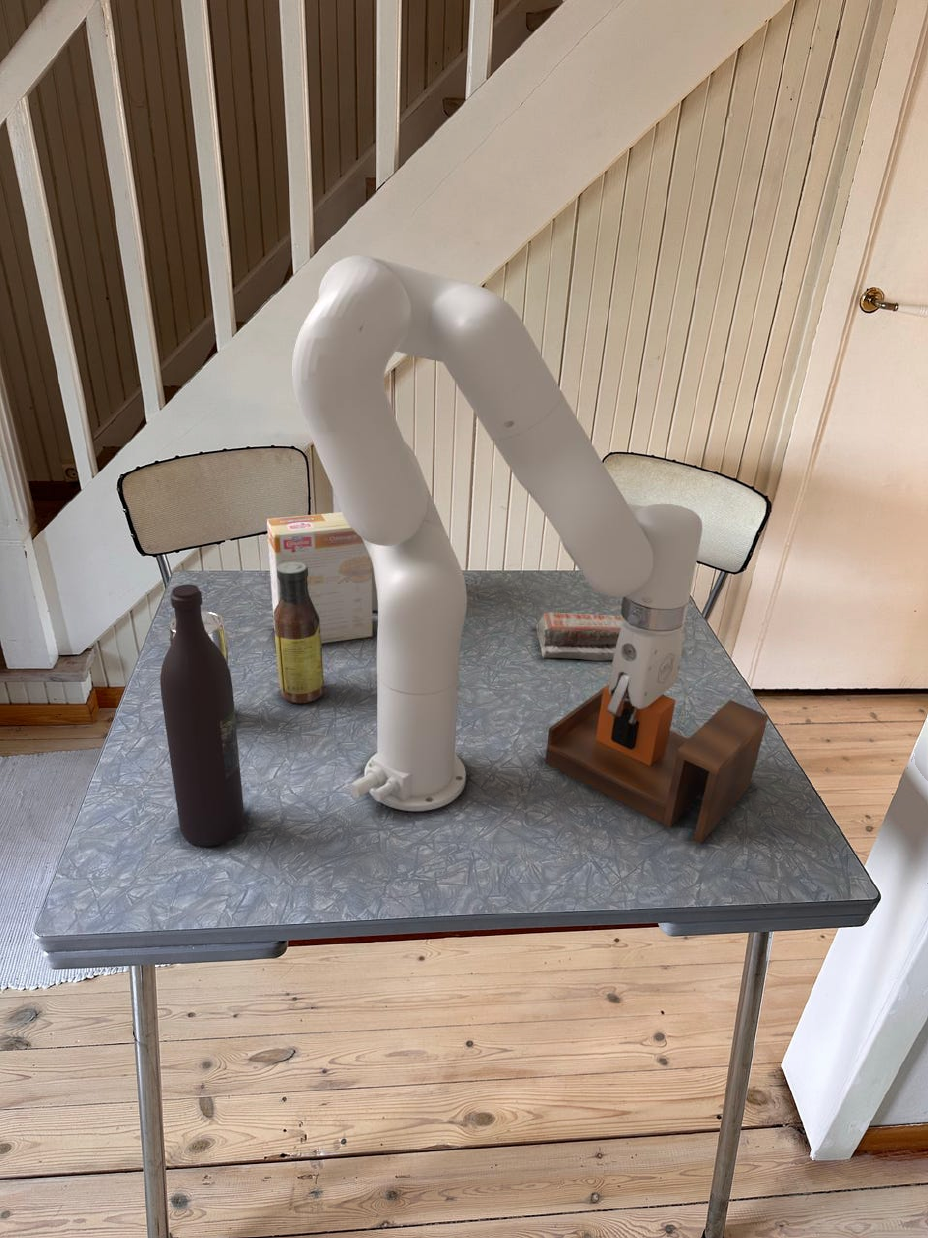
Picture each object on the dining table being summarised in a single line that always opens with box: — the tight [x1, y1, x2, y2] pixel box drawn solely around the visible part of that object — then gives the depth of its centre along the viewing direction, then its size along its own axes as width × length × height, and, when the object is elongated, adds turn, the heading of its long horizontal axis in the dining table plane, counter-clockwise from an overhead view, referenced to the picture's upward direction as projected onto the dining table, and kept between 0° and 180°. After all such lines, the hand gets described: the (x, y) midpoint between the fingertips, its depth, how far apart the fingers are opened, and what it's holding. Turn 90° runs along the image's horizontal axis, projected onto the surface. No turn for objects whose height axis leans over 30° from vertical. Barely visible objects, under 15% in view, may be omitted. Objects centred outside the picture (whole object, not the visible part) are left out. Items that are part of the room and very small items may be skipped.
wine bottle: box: [159, 584, 245, 847], centre depth 89 cm, size 7×7×30 cm
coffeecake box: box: [266, 512, 373, 644], centre depth 132 cm, size 15×7×20 cm, turn 111°
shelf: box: [544, 685, 769, 844], centre depth 105 cm, size 14×22×11 cm, turn 50°
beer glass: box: [169, 610, 229, 666], centre depth 110 cm, size 7×7×15 cm
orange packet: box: [596, 684, 676, 766], centre depth 106 cm, size 4×8×8 cm, turn 50°
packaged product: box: [535, 611, 623, 661], centre depth 136 cm, size 18×5×10 cm
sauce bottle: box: [273, 562, 325, 704], centre depth 116 cm, size 7×6×20 cm
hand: (632, 734), depth 107 cm, fingers closed on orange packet, 4 cm apart
